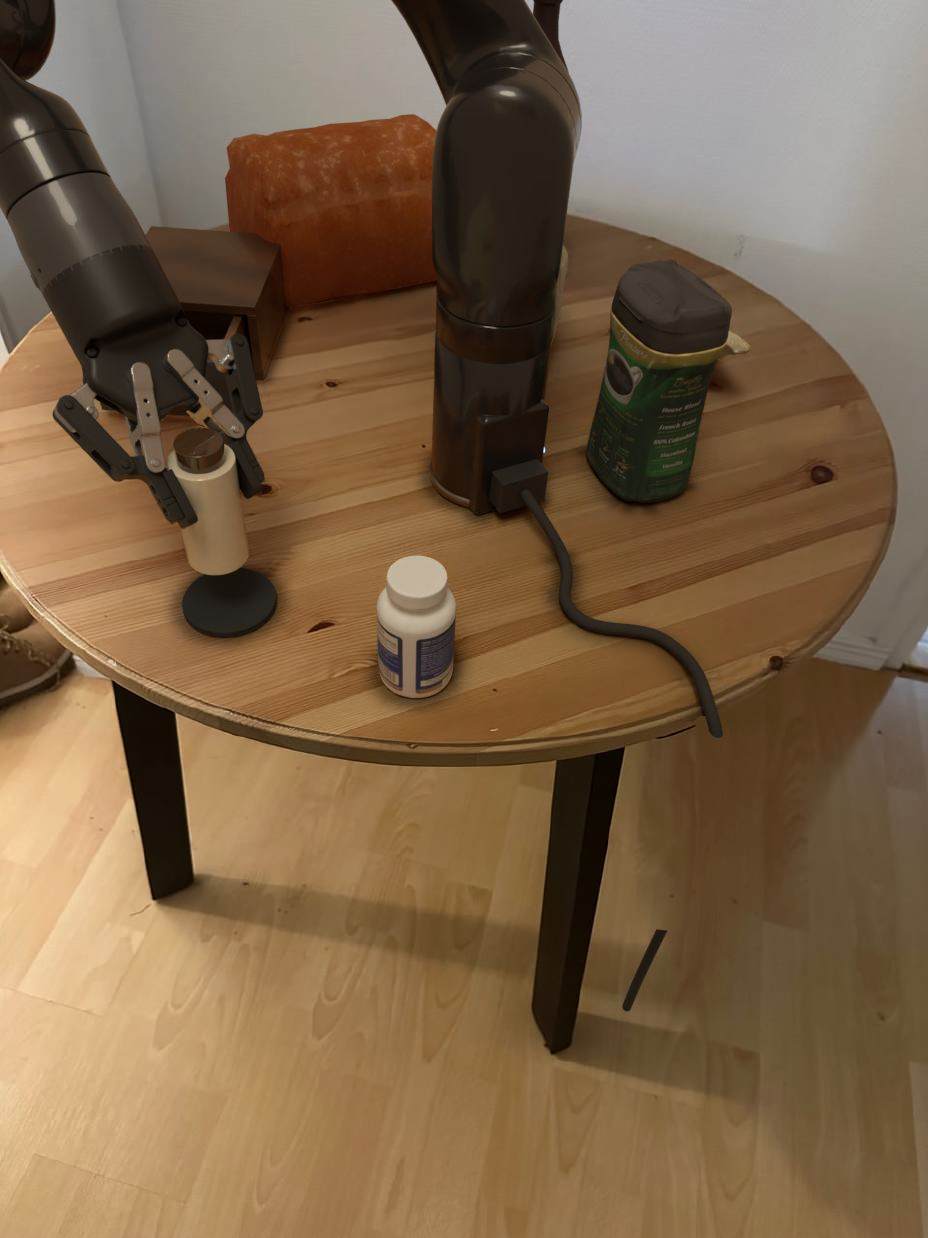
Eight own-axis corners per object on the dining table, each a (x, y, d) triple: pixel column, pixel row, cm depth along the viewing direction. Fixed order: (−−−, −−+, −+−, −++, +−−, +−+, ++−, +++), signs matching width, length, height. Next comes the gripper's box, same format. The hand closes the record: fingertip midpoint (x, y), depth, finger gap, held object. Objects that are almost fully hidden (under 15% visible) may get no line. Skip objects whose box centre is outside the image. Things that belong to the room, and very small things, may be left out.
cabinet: (263, 380, 94) (255, 306, 88) (124, 370, 94) (106, 296, 88) (290, 305, 104) (284, 235, 98) (164, 296, 104) (150, 225, 98)
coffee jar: (700, 496, 84) (757, 302, 71) (621, 515, 82) (665, 318, 69) (647, 434, 90) (690, 244, 77) (572, 450, 88) (603, 257, 75)
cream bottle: (247, 531, 71) (231, 419, 64) (251, 572, 68) (234, 459, 61) (186, 537, 70) (163, 424, 63) (187, 578, 67) (162, 465, 60)
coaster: (289, 620, 72) (289, 615, 71) (198, 649, 69) (197, 644, 69) (259, 562, 76) (258, 556, 76) (172, 587, 74) (170, 582, 73)
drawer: (235, 427, 87) (227, 371, 82) (97, 417, 87) (81, 360, 82) (267, 342, 97) (261, 287, 92) (143, 333, 97) (131, 278, 92)
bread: (475, 278, 109) (483, 143, 99) (271, 318, 101) (256, 176, 90) (414, 217, 120) (415, 88, 109) (224, 249, 111) (205, 113, 101)
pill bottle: (456, 648, 71) (462, 551, 64) (448, 704, 67) (454, 608, 60) (384, 640, 71) (382, 543, 64) (372, 696, 67) (369, 600, 60)
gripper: (-8, 277, 54) (139, 546, 57) (210, 214, 61) (331, 457, 64) (-19, 323, 61) (115, 563, 64) (180, 261, 68) (291, 480, 71)
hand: (223, 508), depth 64 cm, fingers closed on cream bottle, 4 cm apart
